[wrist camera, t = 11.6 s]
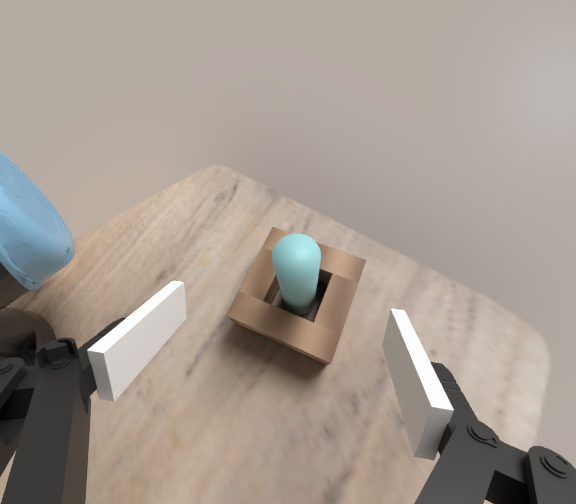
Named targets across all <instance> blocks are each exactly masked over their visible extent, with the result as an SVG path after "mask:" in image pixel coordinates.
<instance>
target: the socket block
mask: <svg viewBox="0 0 576 504" xmlns="http://www.w3.org/2000/svg"><path fill="white" fill-rule="evenodd" d="M290 234H291V233H288V232H286V231H283V230H280V229H277V228H274V227H272V229H271V231H270V233H269V235H268V237H267V239H266V241H265V243H264V244H263V246H262V248H261V250H260V252H259V254H258V256H257V258H256V260H255V262H254V264H253V266H252V267H251V269H250V271H249V273H248V275H247V277H246V279H245V281H244V283H243V285H242V287H241V289H240V290H239V292H238V294H237V296H236V298H235V300H234V302H233V304H232V306H231V308H230V310H229V311H228V313H227V315H226V316H227V317H229V318H230V319H231V320H233V321H234V322H235V323H237V324H239V325H241V326H243V327H245V328H247V329H249V330H252V331H254V332H256V333H258V334H260V335H263V336H265V337H267V338H269V339H271V340H274V341H276V342H278V343H280V344H282V345H284V346H287V347H289V348H291V349H293V350H295V351H298V352H300V353H302V354H304V355H306V356H309V357H311V358H313V359H315V360H317V361H320V362H322V363H324V364H326V365H328V364H330V363H331V362H332V359H333V356H334V353H335V350H336V347H337V344H338V341H339V338H340V335H341V332H342V330H343V327H344V324H345V321H346V318H347V315H348V312H349V309H350V306H351V303H352V300H353V297H354V294H355V291H356V289H357V286H358V283H359V280H360V277H361V274H362V271H363V268H364V265H365V262H366V260H364V259H362V258H359V257H356V256H353V255H350V254H347V253H345V252H342V251H339V250H336V249H333V248H331V247H328V246H325V245H322V244H319V243H317V242H316V243H317V244H318V246H319V248H320V252H321V261H320V268H319V275H318V283H321V284H323V285H326V286H328V287H327V290H326V292H325V295H324V297H323V300H322V303H321V305H320V308H319V310H318V313H317V315H316V318H315V321H314V323H313V322H311V321H309V320H306V319H304V318H301V317H299V316H297V315H294V314H292V313H290V312H287V311H285V310H283V309H280V308H278V307H276V306H273V305H271V304H272V302H273V300H274V298H275V296H276V294H277V291H278V289H279V283H278V280H277V276H276V272H275V269H274V265H273V262H272V251H273V248H274V246H275V245H276V243H277V242H278V241H279V240H280V239H281V238H283V237H285V236H287V235H290Z"/></svg>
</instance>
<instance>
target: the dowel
mask: <svg viewBox="0 0 576 504" xmlns="http://www.w3.org/2000/svg"><path fill="white" fill-rule="evenodd" d="M320 261H321V252H320V248H319V246H318V244H317V243H316V242H315V241H314V240H313V239H312V238H310V237H309V236H306V235H303V234H290V235H287V236H285V237H283V238H281V239H280V240H279V241H278V242H277V243H276V245H275V246H274V248H273V251H272V262H273V265H274V269H275V272H276V276H277V280H278V283H279V287H280V290H281V294H282V297H283V301H284V304H285V307H286V309H287V310H288V311H289V312H290V313H292V314H295V315H304V314H307V313H308V312H309V311H311V309H312V308H313V306H314V303H315V296H316V289H317V282H318V275H319V268H320Z"/></svg>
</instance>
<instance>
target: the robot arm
mask: <svg viewBox="0 0 576 504" xmlns="http://www.w3.org/2000/svg"><path fill="white" fill-rule="evenodd" d="M74 250H75V246H74V241H73V238H72V235H71V233H70V231H69V229H68V227H67V225H66V224H65V222H64V220H63V219H62V217H61V216H60V214H59V213H58V212H57V210H56V209H55V207H54V206H53V205H52V204H51V202H50V201H49V200H48V199H47V197H46V196H45V195H44V194H43V193H42V191H41V190H40V189H39V188H38V187H37V186H36V185H35V184H34V183H33V182H32V180H31V179H30V178H29V177H28V176H27V175H26V174H25V173H24V172H23V171H22V170H21V169H20V168H19V167H18V166H17V165H16V164H14V163H13V162H12V161H11V160H10V159H9V158H8V157H7V156H5V155H4V154H3V153H2V152H1V151H0V477H1V475H2V473H3V471H4V470H5V468H6V466H7V464H8V463H9V461H10V459H11V458H12V456H13V454H14V452H15V451H16V454H15V457H14V460H13V464H12V467H11V471H10V474H9V478H8V481H7V485H6V488H5V491H4V495H3V498H2V502H1V504H85V499H86V482H87V465H88V448H89V431H90V414H91V399H90V395H91V394H92V393H93V392H94V391H95V390H96V389H97V392H98V396H99V399H104V400H109V401H115V400H116V399H117V398H118V397H119V396H120V395H121V393H122V392H123V391H124V390H125V389H126V388H127V386H128V385H129V384H130V383H131V382H132V381H133V379H134V378H135V377H136V376H137V375H138V374H139V372H140V371H141V370H142V369H143V368H144V367H145V366H146V364H147V363H148V362H149V361H150V360H151V359H152V357H153V356H154V355H155V354H156V353H157V352H158V350H159V349H160V348H161V347H162V346H163V345H164V343H165V342H166V341H167V340H168V339H169V338H170V337H171V335H172V334H173V333H174V332H175V331H176V330H177V328H178V327H179V326H180V325H181V324H182V323H183V321H184V320H185V319H186V318H187V317H186V305H185V292H184V282H179V281H172V282H170V283H169V284H168V285H167V286H165V287H164V288H163V289H162V290H160V291H159V292H158V293H157V294H156V295H154V296H153V297H152V298H151V299H149V300H148V301H147V302H146V303H144V304H143V305H142V306H141V307H140V308H138V309H137V310H136V311H135V312H133V313H132V314H131V315H130V316H129V317H127V318H121V319H119V320H116V321H114V322H112V323H111V324H110V325H108V326H107V327H106V328H105V329H104V330H102V331H101V332H99V333H98V334H97V335H96V336H94V337H93V338H92V339H90V340H89V341H88V342H87V343H85V344H84V345H83V346H81V347H80V348H79V349H78V350H77V347H76V343H75V340H74V339H72V338H59V339H56V338H55V334H54V332H53V329H52V327H51V326H50V324H49V323H48V322H47V321H46V320H45V319H44V318H43V317H41V316H40V315H37V314H35V313H32V312H28V311H23V310H19V309H14V308H4V307H6V306H7V305H9V304H10V303H12V302H13V301H15V300H16V299H18V298H19V297H21V296H22V295H24V294H25V293H27V292H28V291H30V290H36V289H38V288H39V287H41V285H42V283H43V282H44V281H45V280H47V279H48V278H49V277H51V276H52V275H54V274H55V273H56V272H58V271H59V270H61V269H62V268H63V267H65V266H66V265H67V264H68V263H69V262H70V261H71V259H72V258H73V255H74ZM382 347H383V350H384V354H385V357H386V361H387V364H388V367H389V371H390V374H391V378H392V381H393V385H394V388H395V392H396V395H397V399H398V402H399V406H400V409H401V412H402V416H403V419H404V423H405V426H406V430H407V433H408V437H409V440H410V444H411V447H412V451H413V454H414V457H419V458H425V459H430V460H434V459H435V457H436V454H437V452H438V451H439V454H440V458H439V460H438V461H437V463H436V465H435V467H434V469H433V471H432V472H431V474H430V476H429V478H428V480H427V482H426V483H425V485H424V487H423V489H422V491H421V493H420V494H419V496H418V498H417V500H416V502H415V503H414V504H483V503H484V500H487V501H489V502H491V503H493V504H576V469H575V468H574V467H573V466H572V465H571V464H570V463H569V462H568V461H567V460H565V459H564V458H563V457H562V456H560V455H559V454H557V453H555V452H554V451H552V450H550V449H547V448H544V447H541V446H533V447H531V448H530V449H529V451H528V452H524V451H522V450H520V449H517V448H515V447H513V446H510V445H508V444H506V443H504V442H502V441H500V440H499V437H498V436H497V435H496V434H495V432H494V431H493V430H492V429H491V428H489V427H488V426H487V425H485V424H484V423H482V422H480V421H478V419H477V417H476V415H475V414H474V412H473V410H472V408H471V407H470V405H469V403H468V401H467V400H466V398H465V396H464V394H463V393H462V392H461V389H460V387H459V386H458V384H456V380H455V379H454V377H453V375H452V373H451V372H450V371H449V370H448V369H447V368H446V367H445V366H444V365H443V364H440V363H434V362H430V361H429V359H428V357H427V355H426V353H425V351H424V349H423V347H422V345H421V343H420V341H419V339H418V337H417V335H416V333H415V331H414V329H413V327H412V325H411V323H410V321H409V319H408V317H407V315H406V313H405V311H404V310H398V309H391V311H390V315H389V319H388V324H387V328H386V332H385V336H384V340H383V345H382ZM16 449H17V450H16Z"/></svg>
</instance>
